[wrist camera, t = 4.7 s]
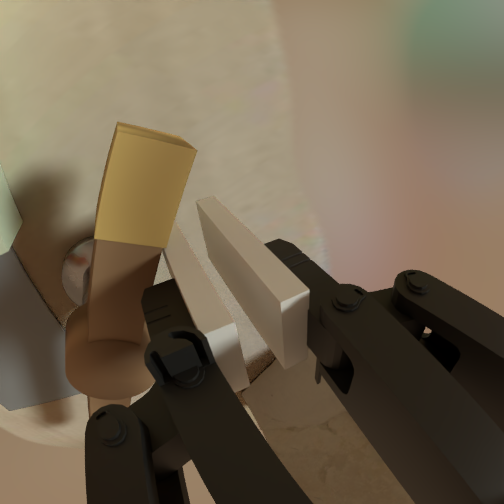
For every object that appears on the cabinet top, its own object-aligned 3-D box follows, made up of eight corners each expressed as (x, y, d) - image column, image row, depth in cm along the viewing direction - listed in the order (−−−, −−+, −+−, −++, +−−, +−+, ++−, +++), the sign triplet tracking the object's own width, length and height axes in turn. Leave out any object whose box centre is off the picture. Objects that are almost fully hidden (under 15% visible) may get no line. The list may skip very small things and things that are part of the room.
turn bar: (81, 449, 16) (86, 475, 14) (91, 116, 8) (83, 125, 6) (127, 448, 18) (135, 473, 16) (203, 142, 10) (227, 159, 8)
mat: (-91, 301, 9) (-91, 302, 8) (10, 243, 12) (9, 244, 12) (9, 409, 17) (9, 411, 17) (108, 383, 20) (108, 385, 20)
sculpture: (270, 406, 34) (391, 579, 12) (223, 405, 29) (359, 617, 7) (353, 325, 32) (512, 507, 9) (317, 308, 26) (516, 543, 4)
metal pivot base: (48, 253, 13) (36, 307, 10) (127, 222, 15) (135, 270, 11) (84, 315, 16) (87, 371, 13) (154, 290, 18) (170, 343, 14)
